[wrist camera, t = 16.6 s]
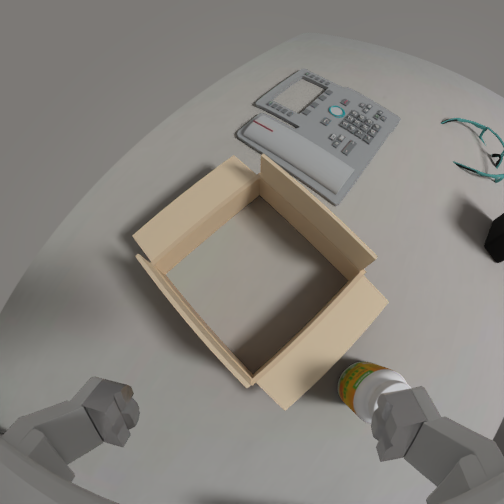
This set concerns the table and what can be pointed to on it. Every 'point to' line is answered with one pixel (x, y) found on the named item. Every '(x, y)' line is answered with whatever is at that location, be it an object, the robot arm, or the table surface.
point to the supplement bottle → (367, 387)
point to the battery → (496, 239)
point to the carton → (311, 227)
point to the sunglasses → (484, 143)
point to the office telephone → (321, 135)
